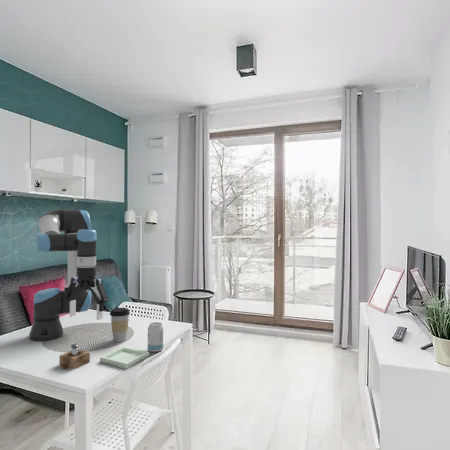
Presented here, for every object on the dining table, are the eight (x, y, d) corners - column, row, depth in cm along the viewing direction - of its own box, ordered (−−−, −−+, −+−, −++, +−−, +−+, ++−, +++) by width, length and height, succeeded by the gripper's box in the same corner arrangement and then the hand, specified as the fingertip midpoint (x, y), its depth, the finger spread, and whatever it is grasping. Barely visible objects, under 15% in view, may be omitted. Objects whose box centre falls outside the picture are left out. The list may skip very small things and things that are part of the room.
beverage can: (148, 347, 158) (148, 322, 158) (163, 347, 159) (164, 321, 159) (146, 353, 152) (146, 326, 152) (162, 353, 152) (162, 326, 152)
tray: (100, 362, 142) (100, 357, 142) (124, 350, 154) (124, 346, 154) (126, 368, 135) (126, 363, 135) (149, 356, 148) (149, 352, 148)
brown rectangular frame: (75, 358, 145) (75, 349, 145) (89, 361, 142) (89, 352, 142) (55, 366, 136) (56, 356, 136) (70, 370, 133) (70, 360, 133)
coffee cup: (123, 344, 163) (124, 312, 163) (105, 342, 165) (106, 311, 165) (132, 337, 172) (133, 307, 172) (115, 336, 174) (116, 306, 174)
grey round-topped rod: (69, 364, 139) (69, 345, 139) (75, 361, 142) (75, 343, 142) (74, 365, 138) (74, 346, 138) (79, 363, 140) (80, 344, 140)
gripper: (55, 266, 143) (55, 316, 143) (106, 269, 135) (105, 322, 135) (68, 264, 150) (68, 312, 150) (117, 267, 142) (116, 318, 142)
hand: (85, 317), depth 143 cm, fingers open, 13 cm apart
